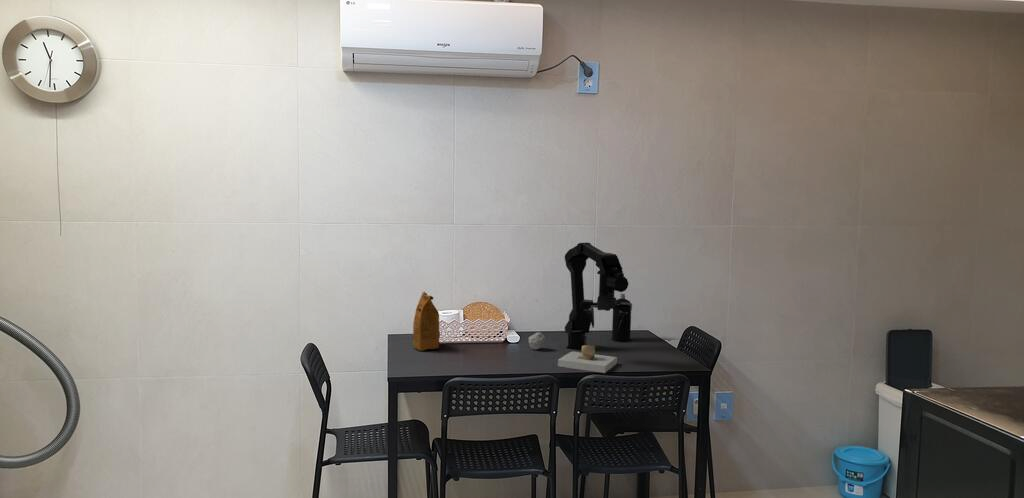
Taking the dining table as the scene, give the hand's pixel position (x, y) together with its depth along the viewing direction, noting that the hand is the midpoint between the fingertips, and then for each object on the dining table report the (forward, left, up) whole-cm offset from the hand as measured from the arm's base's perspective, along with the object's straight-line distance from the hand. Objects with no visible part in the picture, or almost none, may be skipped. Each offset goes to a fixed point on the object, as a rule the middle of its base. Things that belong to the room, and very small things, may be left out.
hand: (605, 328), depth 270 cm
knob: (-4, -8, -12) cm, 15 cm away
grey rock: (-30, +4, -13) cm, 33 cm away
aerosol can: (-5, +37, -13) cm, 39 cm away
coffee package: (-70, -15, -13) cm, 72 cm away
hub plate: (-4, -8, -13) cm, 16 cm away
